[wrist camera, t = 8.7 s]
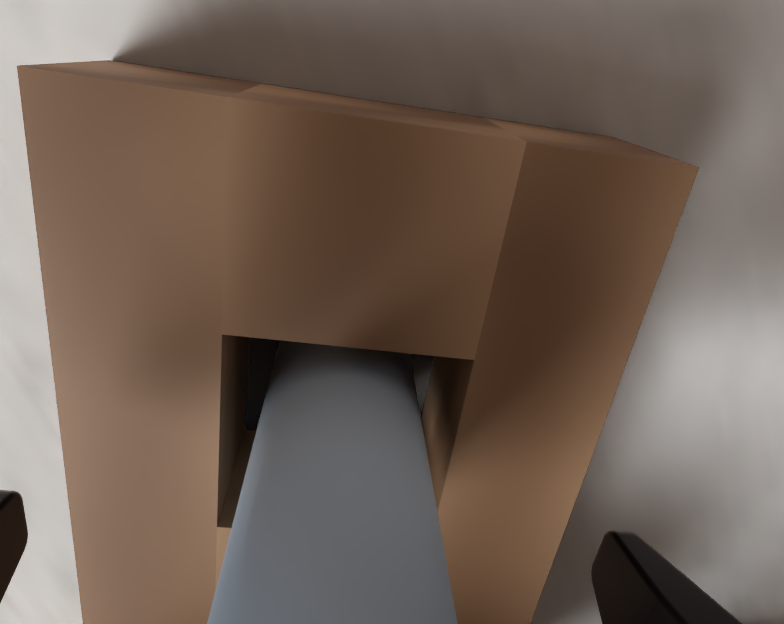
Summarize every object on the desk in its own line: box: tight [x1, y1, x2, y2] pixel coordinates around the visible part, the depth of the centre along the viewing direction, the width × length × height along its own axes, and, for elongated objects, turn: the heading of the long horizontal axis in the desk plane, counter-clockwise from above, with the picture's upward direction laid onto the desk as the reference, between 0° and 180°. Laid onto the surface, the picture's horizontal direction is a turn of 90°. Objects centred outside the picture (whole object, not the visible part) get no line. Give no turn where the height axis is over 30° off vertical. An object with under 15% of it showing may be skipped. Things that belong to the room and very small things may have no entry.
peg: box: [207, 340, 457, 624], centre depth 10 cm, size 3×3×8 cm
